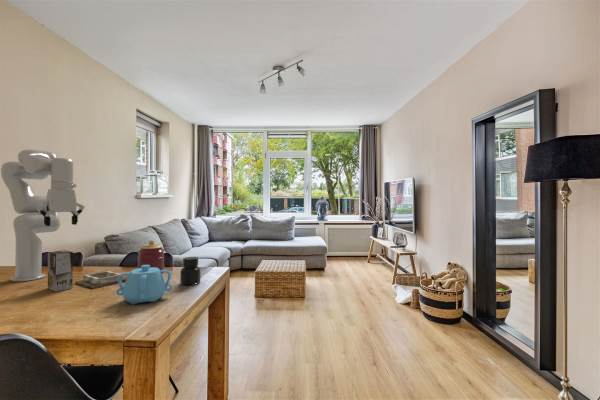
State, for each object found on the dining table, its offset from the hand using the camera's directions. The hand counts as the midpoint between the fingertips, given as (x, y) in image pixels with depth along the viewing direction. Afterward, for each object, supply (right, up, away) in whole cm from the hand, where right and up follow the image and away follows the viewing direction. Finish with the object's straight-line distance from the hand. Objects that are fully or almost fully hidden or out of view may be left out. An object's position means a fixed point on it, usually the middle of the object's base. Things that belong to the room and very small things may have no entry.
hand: (61, 225), depth 129 cm
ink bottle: (+53, -29, +10) cm, 61 cm away
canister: (+25, -29, +29) cm, 48 cm away
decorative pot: (+44, -29, -13) cm, 54 cm away
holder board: (+11, -28, +10) cm, 32 cm away
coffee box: (0, -28, 0) cm, 28 cm away
